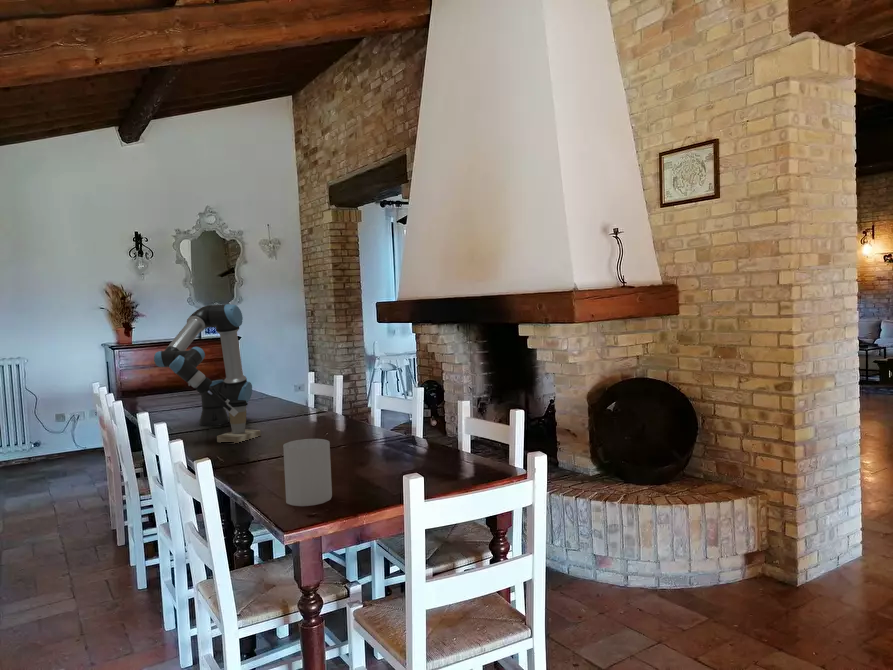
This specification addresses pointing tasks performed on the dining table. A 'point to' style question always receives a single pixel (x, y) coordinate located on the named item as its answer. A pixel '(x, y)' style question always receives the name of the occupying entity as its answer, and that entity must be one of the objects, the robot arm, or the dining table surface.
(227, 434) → the beige ridged slab
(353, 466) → the dining table surface
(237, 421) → the coffee cup
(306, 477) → the container
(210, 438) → the dining table surface
